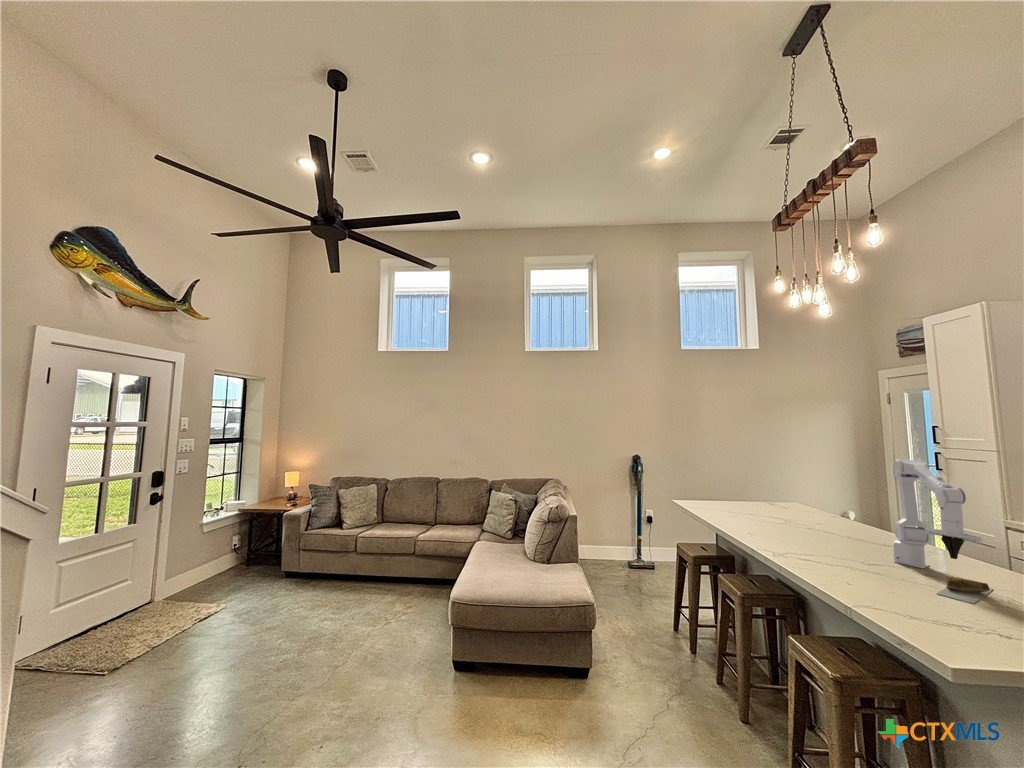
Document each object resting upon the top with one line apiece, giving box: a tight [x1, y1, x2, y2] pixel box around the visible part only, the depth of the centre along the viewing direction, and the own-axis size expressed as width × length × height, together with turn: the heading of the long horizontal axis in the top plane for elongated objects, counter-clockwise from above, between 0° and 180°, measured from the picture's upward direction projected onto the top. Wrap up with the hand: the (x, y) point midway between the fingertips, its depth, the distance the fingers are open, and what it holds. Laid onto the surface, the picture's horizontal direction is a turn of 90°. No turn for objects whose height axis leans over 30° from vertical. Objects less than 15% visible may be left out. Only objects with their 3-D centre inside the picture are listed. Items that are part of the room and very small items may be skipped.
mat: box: [936, 587, 994, 605], centre depth 151 cm, size 9×24×1 cm, turn 121°
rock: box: [945, 575, 990, 593], centre depth 153 cm, size 11×9×10 cm
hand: (954, 558), depth 156 cm, fingers closed
